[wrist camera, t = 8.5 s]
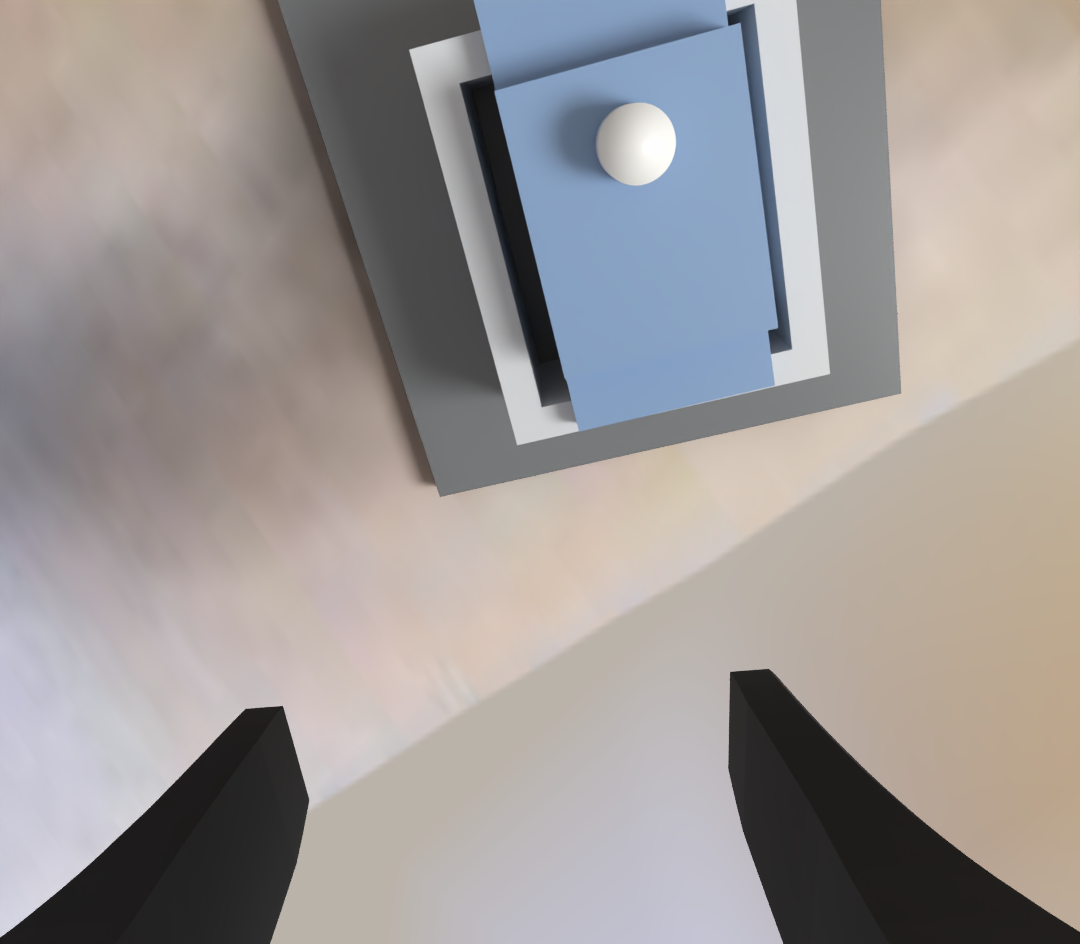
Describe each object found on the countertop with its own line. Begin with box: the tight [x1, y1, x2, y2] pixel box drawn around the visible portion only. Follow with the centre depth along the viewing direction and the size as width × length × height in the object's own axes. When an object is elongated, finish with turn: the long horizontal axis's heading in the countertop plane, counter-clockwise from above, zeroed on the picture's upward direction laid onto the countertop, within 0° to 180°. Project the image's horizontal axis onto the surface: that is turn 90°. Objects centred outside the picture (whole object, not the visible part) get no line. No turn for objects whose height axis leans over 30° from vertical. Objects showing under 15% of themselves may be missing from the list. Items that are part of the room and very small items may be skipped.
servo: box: [474, 0, 778, 432], centre depth 15 cm, size 4×8×5 cm, turn 14°
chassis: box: [278, 0, 901, 497], centre depth 17 cm, size 12×12×4 cm
